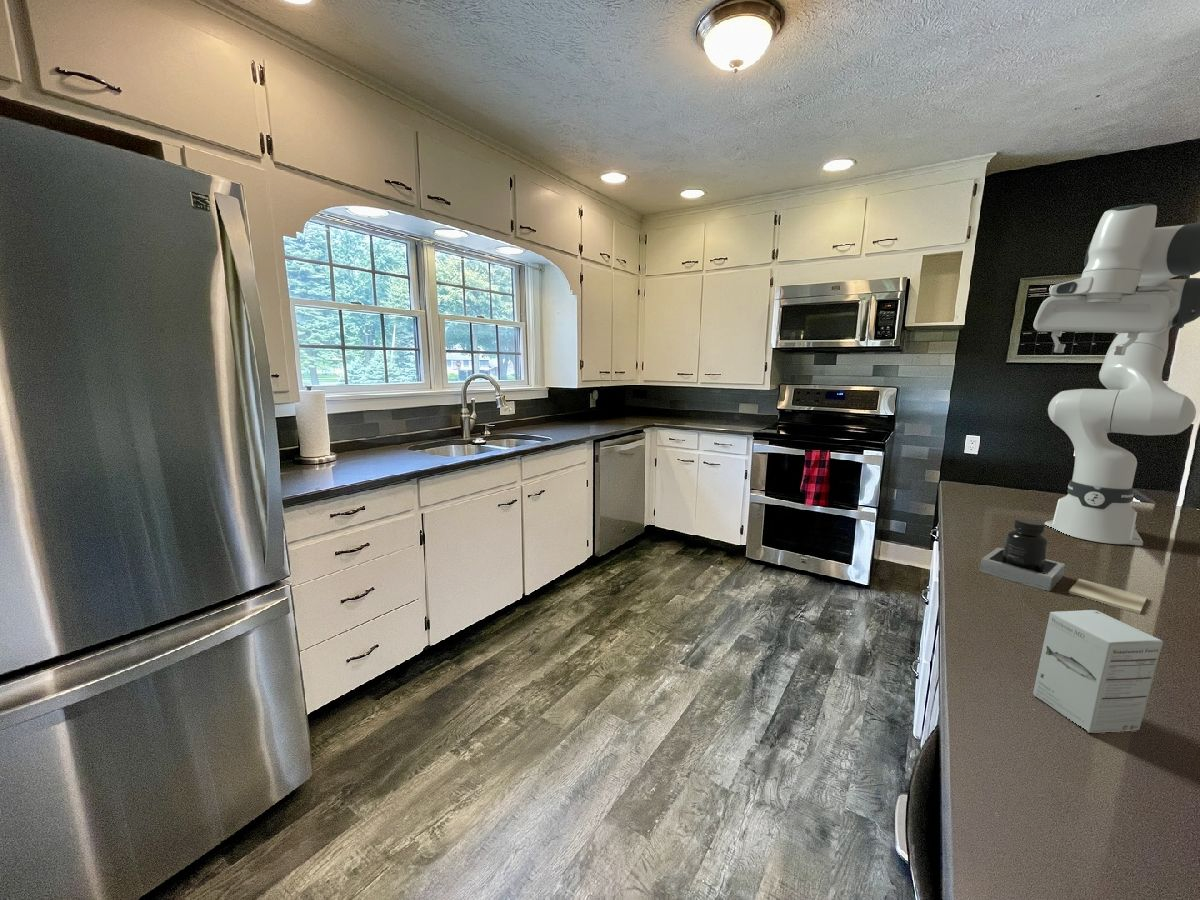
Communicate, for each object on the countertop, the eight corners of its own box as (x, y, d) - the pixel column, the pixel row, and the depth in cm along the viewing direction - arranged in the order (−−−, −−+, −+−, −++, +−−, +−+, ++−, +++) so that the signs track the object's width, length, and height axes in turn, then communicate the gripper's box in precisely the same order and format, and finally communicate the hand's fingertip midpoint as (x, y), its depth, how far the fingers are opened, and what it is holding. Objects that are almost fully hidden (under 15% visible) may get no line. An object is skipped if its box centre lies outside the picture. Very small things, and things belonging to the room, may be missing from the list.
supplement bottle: (1049, 583, 100) (1060, 528, 98) (1012, 579, 101) (1022, 525, 99) (1028, 569, 106) (1037, 517, 104) (993, 566, 108) (1001, 515, 106)
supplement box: (1030, 695, 66) (1046, 610, 63) (1079, 692, 66) (1097, 608, 64) (1088, 736, 58) (1109, 641, 56) (1143, 733, 59) (1166, 639, 57)
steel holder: (995, 559, 112) (997, 547, 111) (1062, 577, 103) (1065, 564, 102) (979, 571, 105) (981, 558, 104) (1049, 591, 96) (1052, 577, 95)
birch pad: (1078, 581, 101) (1079, 578, 101) (1146, 599, 93) (1147, 596, 93) (1068, 593, 95) (1068, 590, 95) (1139, 614, 88) (1140, 611, 87)
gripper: (1182, 287, 95) (1159, 357, 98) (1046, 290, 110) (1030, 351, 113) (1183, 282, 91) (1159, 356, 94) (1041, 286, 106) (1024, 350, 109)
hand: (1087, 353), depth 104 cm, fingers open, 8 cm apart
